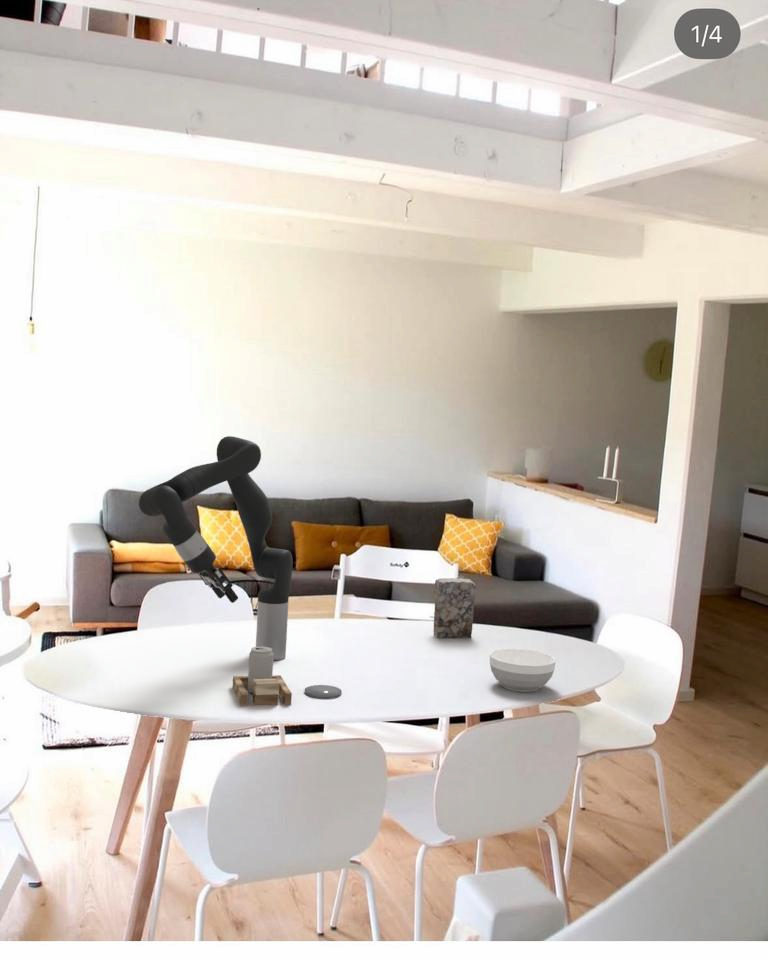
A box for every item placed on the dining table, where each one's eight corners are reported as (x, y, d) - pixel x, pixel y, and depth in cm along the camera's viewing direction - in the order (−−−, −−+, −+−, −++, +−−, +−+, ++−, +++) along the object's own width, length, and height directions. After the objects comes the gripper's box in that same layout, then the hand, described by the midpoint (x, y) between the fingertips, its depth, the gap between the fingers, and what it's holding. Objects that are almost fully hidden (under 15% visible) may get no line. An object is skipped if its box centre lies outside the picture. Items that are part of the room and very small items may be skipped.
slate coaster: (301, 688, 280) (301, 685, 280) (336, 687, 283) (336, 684, 283) (308, 699, 270) (308, 696, 270) (345, 698, 273) (345, 695, 273)
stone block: (438, 639, 346) (441, 581, 345) (430, 634, 353) (434, 577, 351) (473, 638, 351) (477, 581, 349) (465, 633, 357) (469, 577, 356)
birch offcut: (252, 690, 266) (253, 679, 266) (275, 689, 268) (275, 678, 268) (256, 695, 262) (256, 683, 262) (278, 694, 264) (279, 682, 264)
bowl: (517, 674, 308) (519, 645, 307) (567, 690, 294) (569, 660, 293) (474, 683, 295) (476, 653, 294) (524, 700, 281) (526, 669, 280)
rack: (232, 687, 277) (233, 676, 277) (279, 686, 281) (280, 675, 281) (241, 706, 261) (241, 694, 261) (291, 704, 265) (291, 693, 265)
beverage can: (259, 687, 278) (261, 644, 277) (276, 693, 274) (278, 649, 273) (242, 692, 273) (244, 648, 272) (259, 697, 269) (261, 652, 268)
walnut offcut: (252, 701, 266) (253, 690, 266) (275, 701, 268) (275, 690, 268) (254, 706, 262) (255, 695, 262) (277, 705, 264) (278, 694, 264)
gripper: (215, 544, 261) (250, 593, 266) (195, 539, 273) (229, 585, 278) (193, 563, 258) (228, 611, 263) (174, 557, 270) (208, 603, 275)
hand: (228, 598), depth 271 cm, fingers open, 8 cm apart
